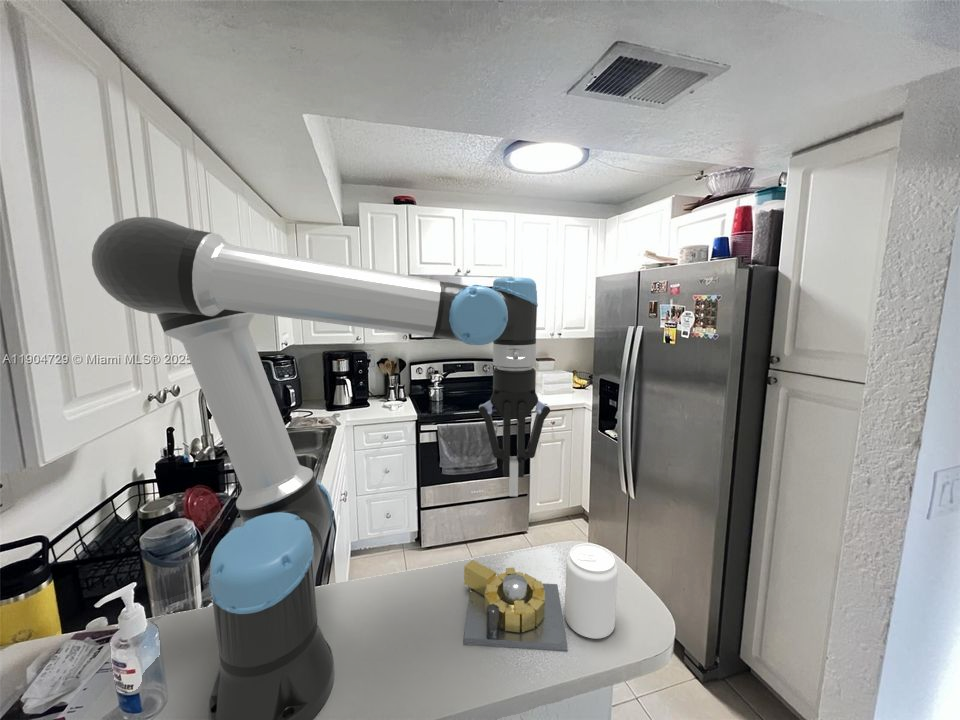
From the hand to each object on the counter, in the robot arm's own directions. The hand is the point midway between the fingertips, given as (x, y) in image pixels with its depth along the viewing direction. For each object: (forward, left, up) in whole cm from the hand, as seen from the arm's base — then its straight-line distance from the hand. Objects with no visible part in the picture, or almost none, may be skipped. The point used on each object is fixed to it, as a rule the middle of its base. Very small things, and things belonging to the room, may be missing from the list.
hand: (513, 492), depth 73 cm
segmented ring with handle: (-2, -6, -17) cm, 18 cm away
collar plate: (0, -8, -18) cm, 20 cm away
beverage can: (+13, -9, -19) cm, 24 cm away
